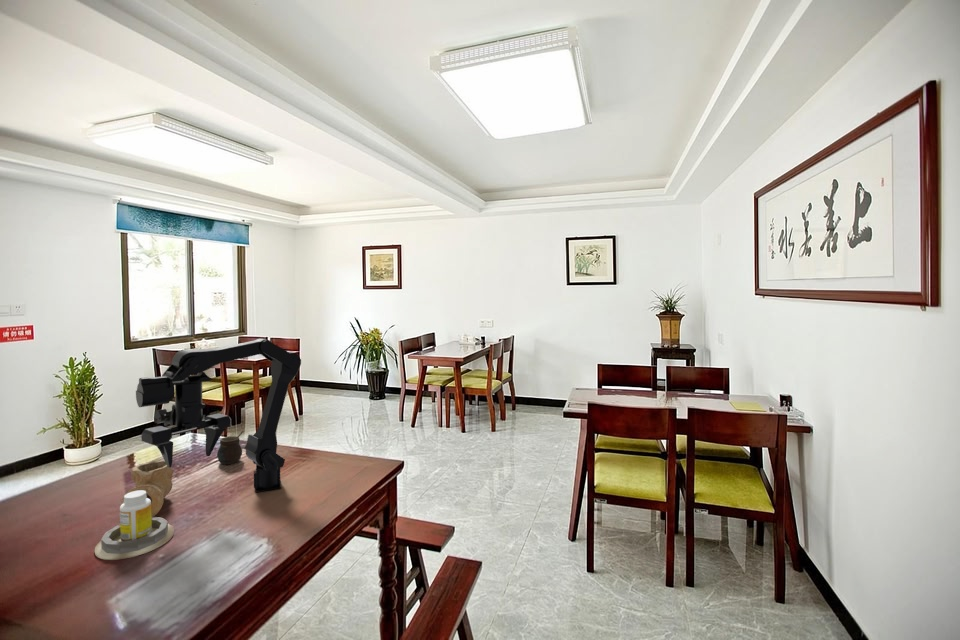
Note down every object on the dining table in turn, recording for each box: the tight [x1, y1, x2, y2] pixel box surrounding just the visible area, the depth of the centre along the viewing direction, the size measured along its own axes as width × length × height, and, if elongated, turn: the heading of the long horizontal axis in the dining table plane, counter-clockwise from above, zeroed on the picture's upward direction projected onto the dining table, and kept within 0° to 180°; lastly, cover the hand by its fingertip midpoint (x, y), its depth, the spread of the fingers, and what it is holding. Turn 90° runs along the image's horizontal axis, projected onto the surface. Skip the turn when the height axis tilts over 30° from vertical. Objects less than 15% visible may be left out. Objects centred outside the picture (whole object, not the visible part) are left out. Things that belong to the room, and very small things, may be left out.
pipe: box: [121, 460, 174, 517], centre depth 115 cm, size 9×16×10 cm, turn 25°
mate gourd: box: [216, 430, 244, 466], centre depth 146 cm, size 7×8×10 cm
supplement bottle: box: [119, 490, 152, 541], centre depth 99 cm, size 6×6×10 cm
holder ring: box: [94, 516, 175, 561], centre depth 100 cm, size 14×14×3 cm
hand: (189, 461), depth 113 cm, fingers open, 9 cm apart
